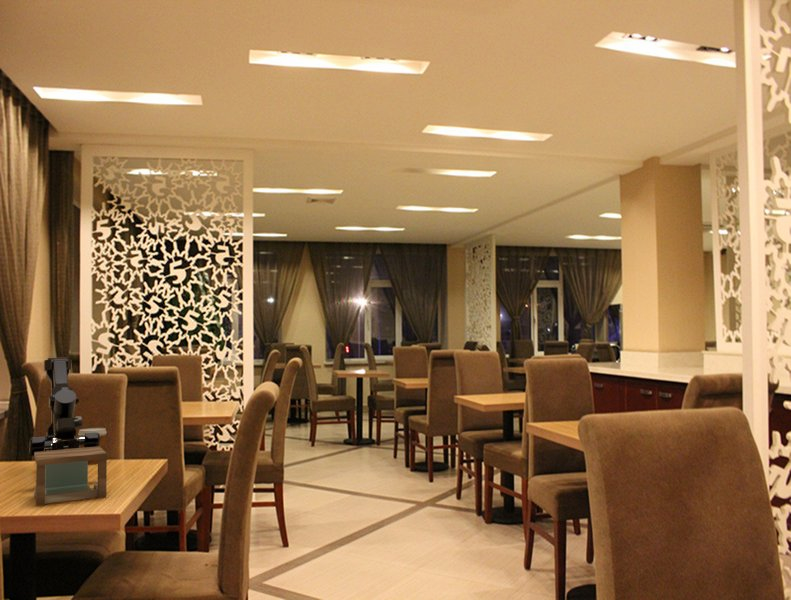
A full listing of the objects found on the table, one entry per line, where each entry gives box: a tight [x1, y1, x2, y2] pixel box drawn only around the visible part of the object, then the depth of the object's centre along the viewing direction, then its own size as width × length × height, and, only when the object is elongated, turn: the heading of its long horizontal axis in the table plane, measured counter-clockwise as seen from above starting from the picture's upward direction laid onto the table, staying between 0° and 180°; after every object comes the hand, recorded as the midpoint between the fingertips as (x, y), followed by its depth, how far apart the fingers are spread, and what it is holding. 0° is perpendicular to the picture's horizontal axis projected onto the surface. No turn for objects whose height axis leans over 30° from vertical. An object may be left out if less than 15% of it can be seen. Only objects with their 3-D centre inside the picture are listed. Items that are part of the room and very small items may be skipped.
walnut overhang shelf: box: [33, 446, 108, 507], centre depth 185 cm, size 16×17×12 cm
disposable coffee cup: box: [77, 427, 108, 466], centre depth 239 cm, size 10×10×12 cm
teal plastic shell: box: [45, 461, 92, 495], centre depth 188 cm, size 14×11×9 cm
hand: (66, 466), depth 195 cm, fingers closed
